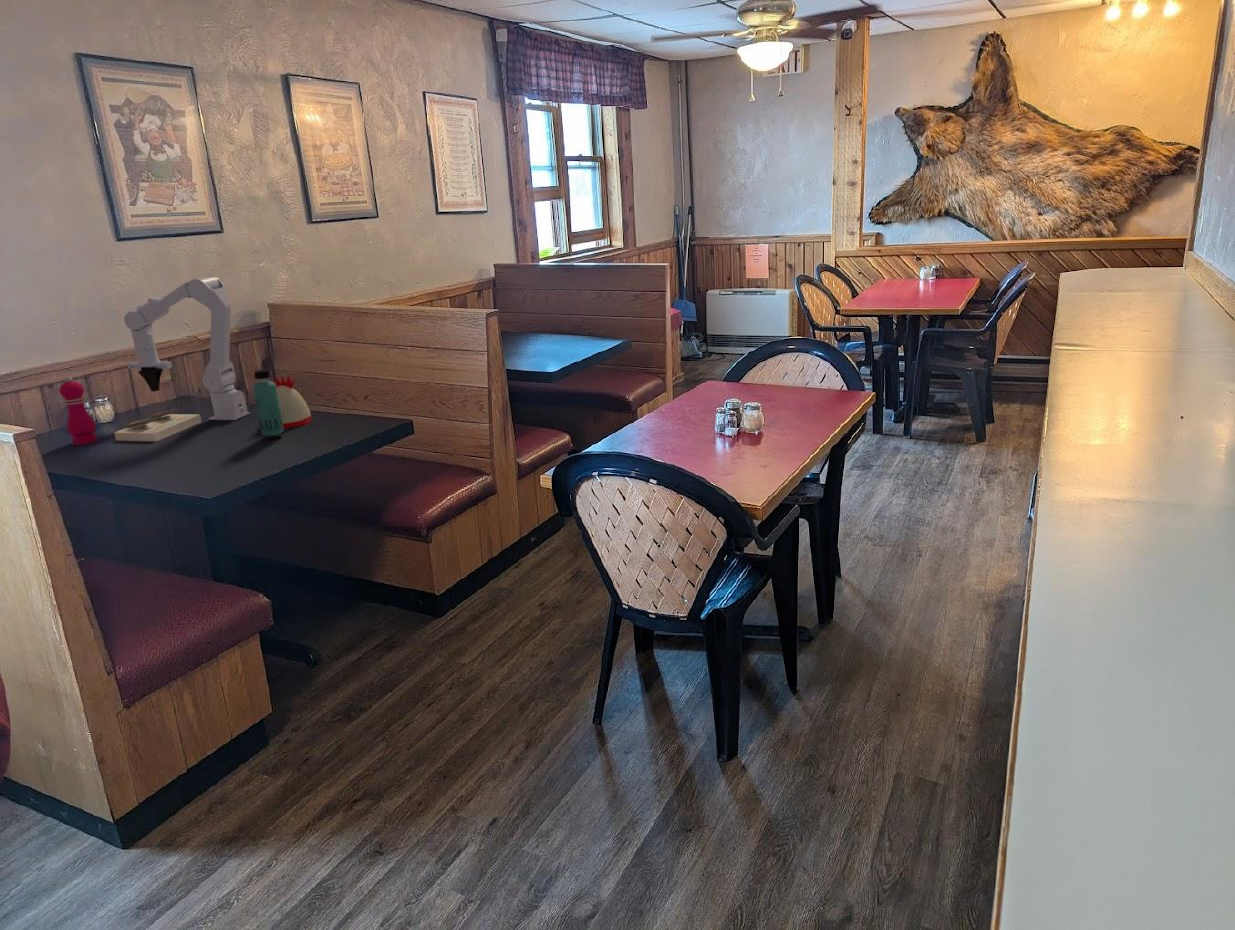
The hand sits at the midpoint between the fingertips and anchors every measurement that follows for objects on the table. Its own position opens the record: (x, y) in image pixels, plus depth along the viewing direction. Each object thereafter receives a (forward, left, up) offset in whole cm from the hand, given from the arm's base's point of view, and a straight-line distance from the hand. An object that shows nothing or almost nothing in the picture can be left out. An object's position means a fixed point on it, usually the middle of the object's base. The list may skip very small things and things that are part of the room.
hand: (155, 390), depth 273 cm
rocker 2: (-9, +8, -5) cm, 13 cm away
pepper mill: (+6, +25, -10) cm, 27 cm away
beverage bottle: (-52, +17, -10) cm, 56 cm away
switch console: (-10, +13, -9) cm, 19 cm away
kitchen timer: (-47, +2, -10) cm, 48 cm away
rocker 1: (-9, +18, -5) cm, 21 cm away
